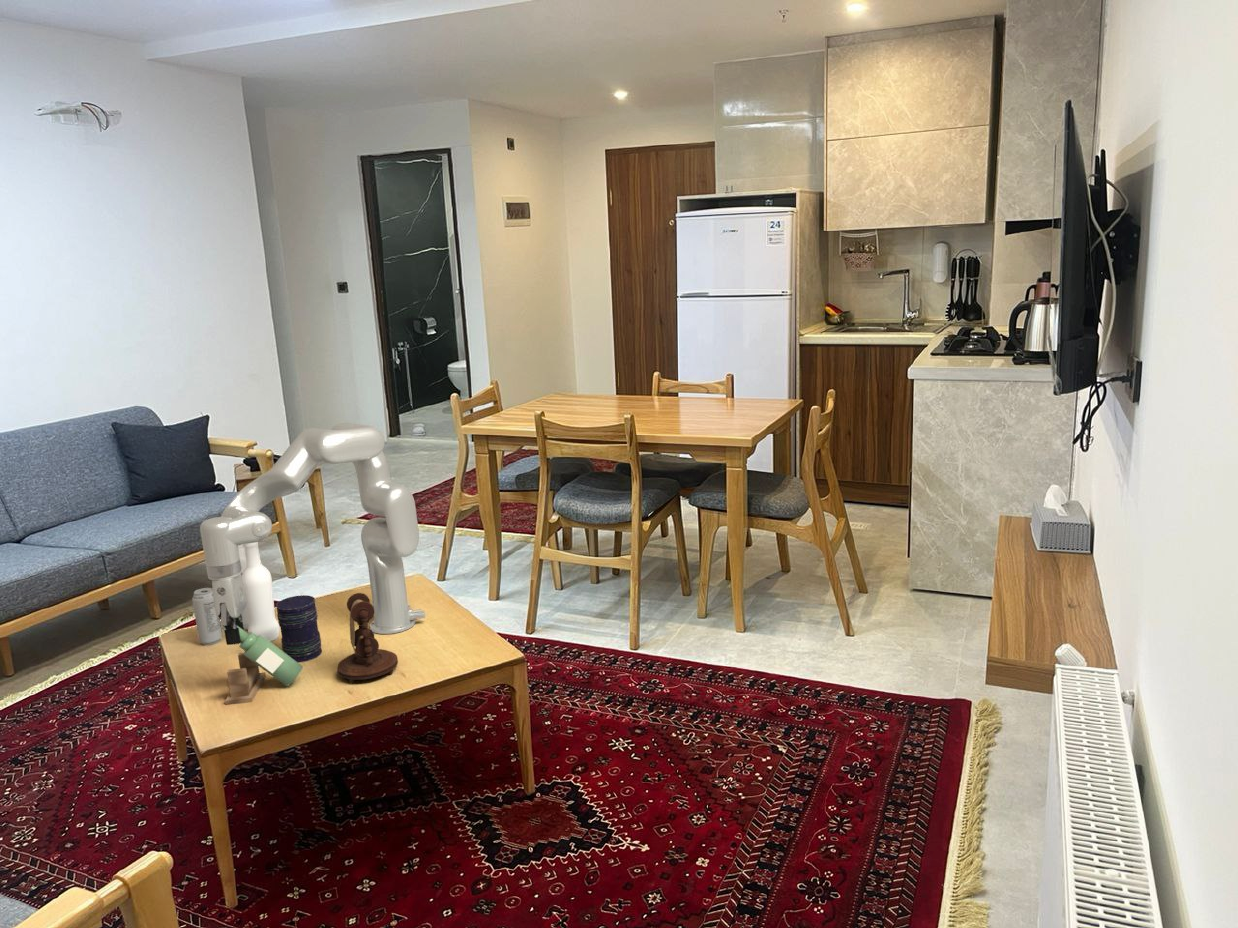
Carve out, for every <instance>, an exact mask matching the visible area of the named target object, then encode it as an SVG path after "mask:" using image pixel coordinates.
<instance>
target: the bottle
mask: <svg viewBox="0 0 1238 928" xmlns="http://www.w3.org/2000/svg"><path fill="white" fill-rule="evenodd" d="M243 547H244V548H245V556H246V564H247V567H246V569H245V570H244V572H243V573H242V579H243V583H244V588H245V593H246V597H247V606H246V608H247V612H248V617H249V628H248V630H247V631H248V632H247V633H248V634H250V633H251V632H253V633H254V634H255V635H257V636H259V635H260V634H261V635H262V636H264V637H265V638H266V639H268V640H269V641H270V642H273V641H275V640H277V639H278V638H279V637H280V633H281V628H280V626H279V623H278V622H279V621H278V619H277V617H276V613H275V603H274V602H275V601H274V589H273V579H272V578H273V577H272V574H271V572H270V570H269V569H268V568H267V567H266V566H265V565H263V564H262V561H261V555H260V549H259V542H255V543H248V544H243Z"/></svg>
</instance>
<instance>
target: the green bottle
mask: <svg viewBox="0 0 1238 928" xmlns="http://www.w3.org/2000/svg"><path fill="white" fill-rule="evenodd" d="M229 621H231V620H229ZM232 623H233V622H232ZM237 627H239V626H237ZM221 629H222V632H224V628H223V626H221ZM239 633H240V639H241V642H240V644H238V645H239V646H238V648H240V649H242V650H243V651H244V652H243V653H244V654H243V655H245V656H246V657H248V658H249V659H250V660H252V661H253V662H254V663H256V664H257V665H258V666H259V668H261V669H262V670H264V671H265V673H268V674H269V675H270V676H272V677H273V678H274V679H275V680H277V681H278V682H280V683H281V684H282V685H283V686H285V687H288V686H289V685H290V684H292V683H293V682H294V681H295V680H296V679H297V677H298V676H299V675H300V674H301V672H302V670H303V668H304V666H303V665H302V664H300V663H298V662H297V661H295V660H294V659H293V658H291V657H290V656H289V655H287V654H286V653H285V652H283V650H282V648H279V647H278V646H277V645H276V644H274V643H273V641H271V642H270V641H269V640H268V639H266V638H265V637H264V636H262V635H261V634H260V635H259V636H257V635H255V634H254V633H253V632H251V633H250V634H249V633H248V632H246V630H243V629H241V628H240V627H239ZM290 686H291V685H290Z"/></svg>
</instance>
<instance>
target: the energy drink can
mask: <svg viewBox="0 0 1238 928" xmlns="http://www.w3.org/2000/svg"><path fill="white" fill-rule="evenodd" d="M191 600H192V606H193V611H194V612H193V613H194V617H195V618H194V619H195V624H196V629H197V635H198V636H197V637H198V641H199V642H200V643H201V644H202V645H203V646H213V645H215V644H217V643H219V642H221V640H222V638H223V630H222V629H221V628H222V625H221V619H220V620H219V619H218V618H217V616H216V612H215V606H214V598H213V589H212V588H211V587H204V588H199V589H196V590H195V591H194V592H193V596H192V598H191Z"/></svg>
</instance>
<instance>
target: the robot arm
mask: <svg viewBox="0 0 1238 928" xmlns="http://www.w3.org/2000/svg"><path fill="white" fill-rule="evenodd" d="M385 441H386V439H385V436H384V434H383V432H381V430H380V429H378V428H377V427H375V426H371V425H365V424H357V423H351V422H349V423H348V422H342V423H338V424H335V425H333V427H332V428H331V429H326V428H318V427H309V428H305V429H304V430H302V431H301V432H299V434H298V435H297V436H296V438H295V439H294V440H293V441H292V442H291V444H290V445H289V446H288V448H286V450H285V451H284V452H283V453H282V454H281V455H280V456H279V459H277V461H276V462H275V463H274V464H273V465H272V467H270V469H269V470H267V471H266V472H264V473H262V474H261V475H260V476H258V477H257V478H255V479H254V480H253V481H251V482H250V483H248V484H246V485H245V486H244V487H243V488H242V489H241V490H239V491H238V492H237V493H236V495H234V497H233V498H232V499H231V500H230V502H229V503H228V505H227V506H226V507H225V508H224V509H223V511H222V513H221V514H220V516H218V517H210V518H208V519H206V520H204V521H203V522H201V523H200V526H199V532H200V538H201V544H202V549H203V554H204V555H203V556H204V561H205V568H206V573H207V578H208V579H209V581H210V580H211V585H212V586H211V587H212V589H213V598H214V606H215V612H216V616H217V618H218V619H219V620H220V623H221V627H223V628H224V631H223V632H224V636H225V637H224V638H225V643H226V645H227V646H230V645H240V644H241V643H240V642H241V639H240V633H239V627H240V628H241V629H243V630H244V627H243V621H242V614H241V613H242V612H243V610H244V609H245V607H246V606H247V597H246V593H245V588H244V583H243V579H242V575H241V573H242V568H241V562H240V556H239V549H238V545H241V544H248V543H255V542H258V543H259V542H261V541H263V540H265V539H266V538H268V537H269V535H270V534H271V532H272V530H273V523H272V520H271V518H270V517H269V516H268V515H266V514H265V513H263V512H261V511H260V510H261V509H262V508H263V507H265V506H266V505H268V504H269V503H271V502H272V501H274V500H277V499H280V498H282V497H285V496H289V495H292V494H294V493H296V492H298V491H299V490H300V489H301V488H302V487H303V486H304V484H306V482H307V481H308V480H309V478H310V477H311V475H312V474H313V473H314V471H315V470H316V469H317V468H318V467H319V465H320V464H321V463H324V464H332V465H334V464H335V465H336V464H348V463H352V464H353V466H354V469H355V474H356V477H357V485H358V491H359V498H360V499H359V500H360V503H361V507H362V509H363V510H364V511H365V512H366V513H368V514H370V515H375V516H376V517H374V518H371V519H369V520H367V521H366V522H365V523H364V524H363V526H362V529H361V533H360V541H361V545H362V548H363V550H364V554H365V557H366V562H367V568H368V574H369V583H370V591H371V599H372V600H371V601H372V605H373V607H374V616H373V618H374V619H373V620H372V621H370V622H369V629H371V630H372V631H373V633H374V634H380V635H388V634H389V635H392V634H397V633H402V632H404V631H407V630H410V629H411V628H413V626H415V624H416V619H425V618H426V613H425V612H426V611H425V610H423V611H422V609H421V608H420V609H411V605H410V604H409V603H408V595H407V586H406V578H405V577H406V576H405V575H406V574H405V567H404V561H403V558H407V557H409V556H412V555H413V554H414V553H415V552H416V551H417V549H418V546H419V542H420V533H419V531H420V530H419V523H418V515H417V508H416V502H415V499H414V495H413V494H412V492H411V490H410V489H409V488H408V487H406V486H405V485H403V484H401V483H395V482H393V481H392V480H391V476H390V471H389V465H388V461H387V458H386V455H385V453H384V448H385ZM377 516H378V517H377ZM229 620H231V621H229ZM240 621H242V622H240ZM232 622H233V623H232ZM237 626H239V627H237ZM244 631H245V630H244Z"/></svg>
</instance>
